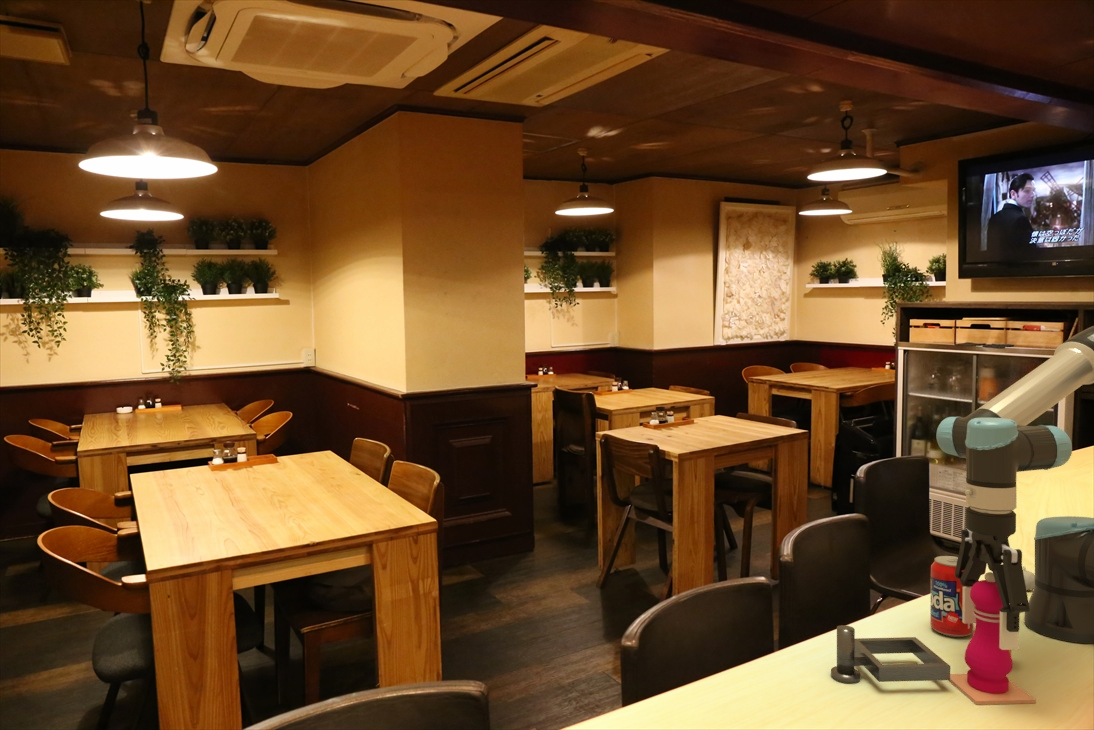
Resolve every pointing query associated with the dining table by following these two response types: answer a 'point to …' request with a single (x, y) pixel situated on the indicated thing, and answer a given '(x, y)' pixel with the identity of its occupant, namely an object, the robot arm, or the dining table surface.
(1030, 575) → the garlic
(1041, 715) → the dining table surface
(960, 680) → the terracotta tile
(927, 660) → the square frame with post
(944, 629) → the soda can
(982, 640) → the pepper mill
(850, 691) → the dining table surface
